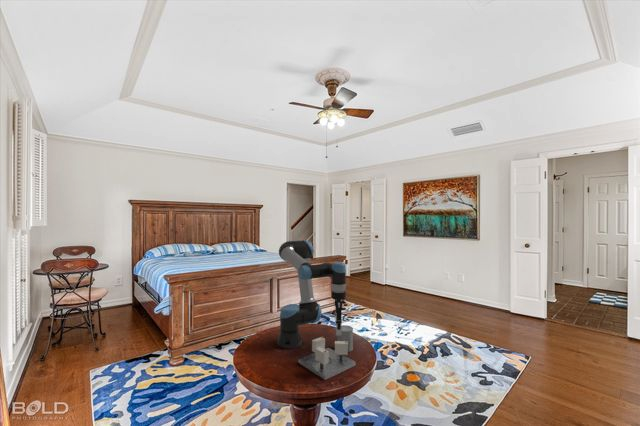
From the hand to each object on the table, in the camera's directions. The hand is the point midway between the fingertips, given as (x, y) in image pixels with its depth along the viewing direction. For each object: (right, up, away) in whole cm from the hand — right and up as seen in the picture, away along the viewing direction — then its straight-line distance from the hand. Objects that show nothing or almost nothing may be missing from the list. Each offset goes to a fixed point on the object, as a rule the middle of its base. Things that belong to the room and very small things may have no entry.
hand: (338, 330), depth 166 cm
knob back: (-11, -16, +5) cm, 20 cm away
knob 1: (-9, -16, -8) cm, 20 cm away
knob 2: (+2, -16, +2) cm, 17 cm away
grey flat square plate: (-6, -19, 0) cm, 20 cm away
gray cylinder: (+5, -19, +19) cm, 27 cm away
